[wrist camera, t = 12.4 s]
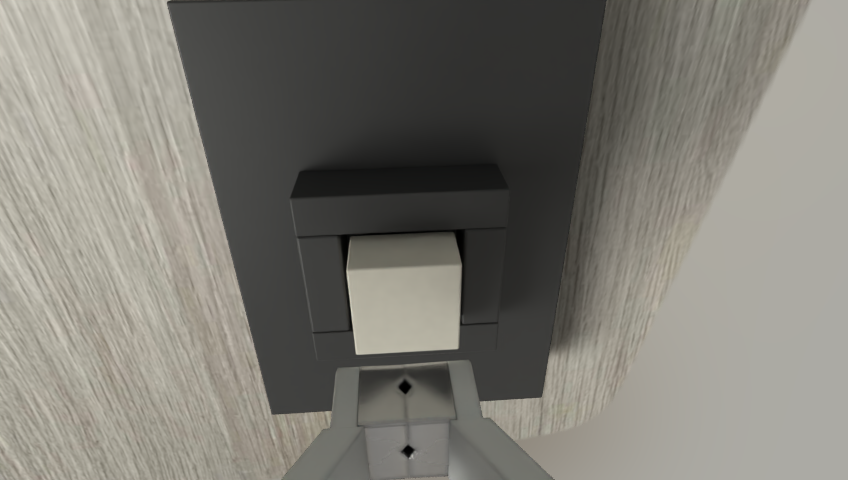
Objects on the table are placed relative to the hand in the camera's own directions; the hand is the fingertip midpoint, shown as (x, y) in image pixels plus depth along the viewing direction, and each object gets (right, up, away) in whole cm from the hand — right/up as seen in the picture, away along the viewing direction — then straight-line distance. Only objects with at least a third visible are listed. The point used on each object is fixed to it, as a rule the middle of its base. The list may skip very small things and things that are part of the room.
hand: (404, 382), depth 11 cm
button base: (0, +4, +7) cm, 8 cm away
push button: (0, +2, +4) cm, 4 cm away
